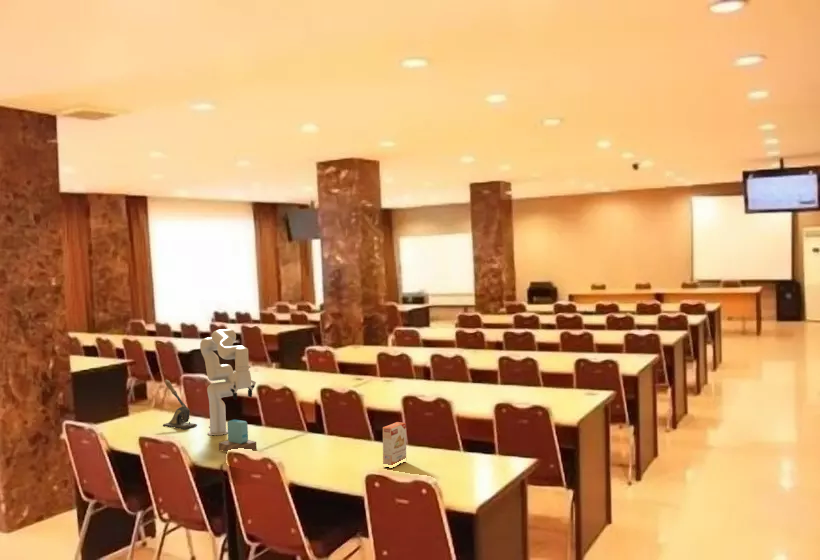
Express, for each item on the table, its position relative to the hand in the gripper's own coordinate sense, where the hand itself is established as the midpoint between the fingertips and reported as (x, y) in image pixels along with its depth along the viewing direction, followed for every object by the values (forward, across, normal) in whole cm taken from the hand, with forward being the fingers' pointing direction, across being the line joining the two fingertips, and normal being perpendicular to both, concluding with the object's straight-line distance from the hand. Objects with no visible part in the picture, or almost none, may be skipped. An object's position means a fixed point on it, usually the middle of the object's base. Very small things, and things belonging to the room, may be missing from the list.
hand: (242, 398), depth 415 cm
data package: (+23, +7, +6) cm, 25 cm away
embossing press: (+30, +3, -75) cm, 81 cm away
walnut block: (+28, +8, +6) cm, 30 cm away
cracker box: (+26, -31, +96) cm, 104 cm away
